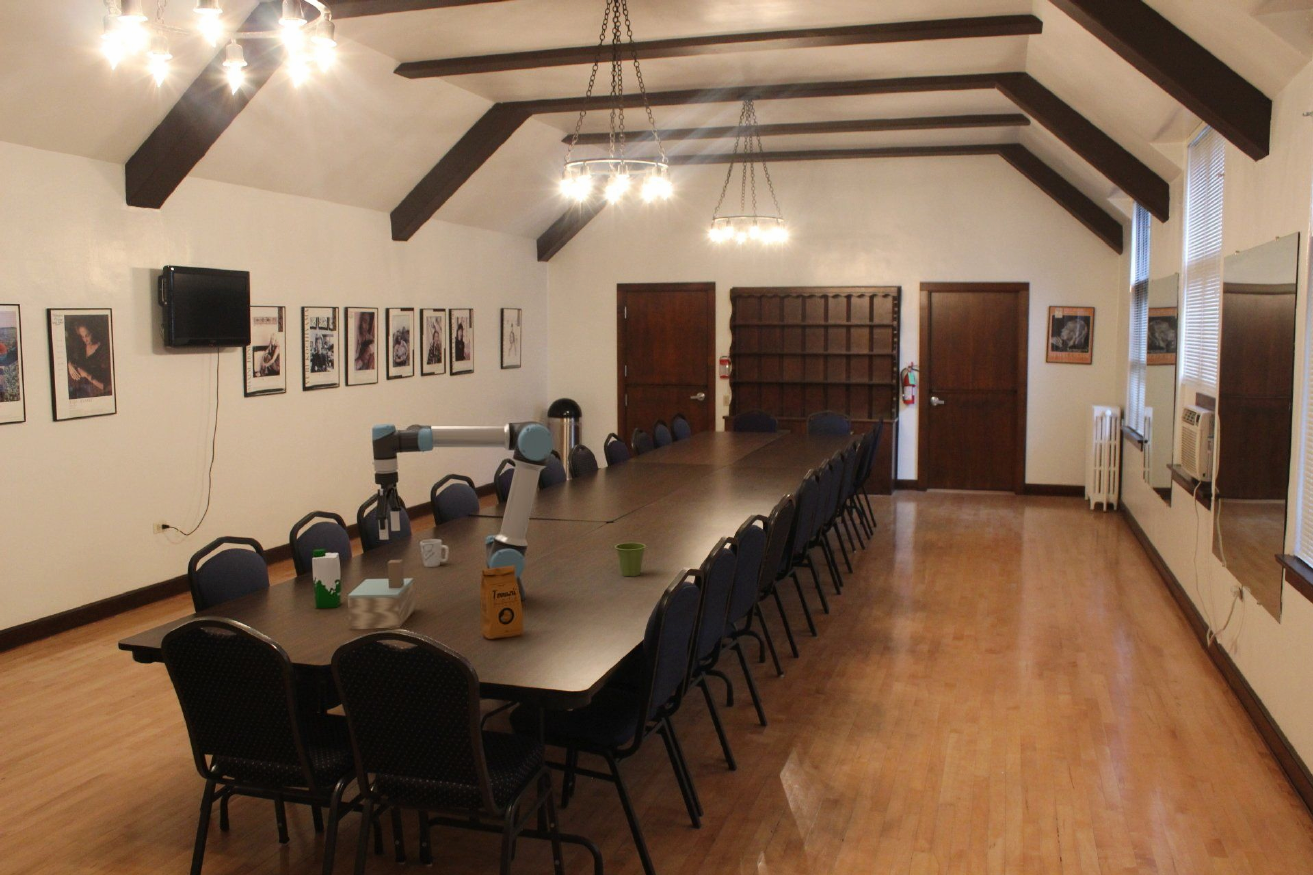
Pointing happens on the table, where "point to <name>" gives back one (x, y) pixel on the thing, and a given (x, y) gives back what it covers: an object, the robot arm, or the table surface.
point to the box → (381, 611)
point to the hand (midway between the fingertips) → (390, 534)
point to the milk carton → (326, 579)
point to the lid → (384, 584)
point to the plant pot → (630, 558)
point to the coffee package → (500, 603)
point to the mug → (433, 552)
